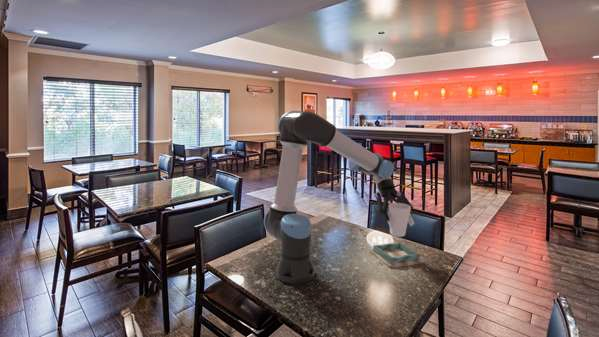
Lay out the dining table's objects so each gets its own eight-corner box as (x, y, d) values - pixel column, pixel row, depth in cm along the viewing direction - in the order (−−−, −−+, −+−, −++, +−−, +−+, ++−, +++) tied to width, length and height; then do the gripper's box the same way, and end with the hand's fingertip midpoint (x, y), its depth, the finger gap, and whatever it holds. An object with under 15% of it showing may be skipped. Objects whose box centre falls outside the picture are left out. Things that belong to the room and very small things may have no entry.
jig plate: (389, 268, 137) (390, 260, 136) (369, 251, 153) (369, 244, 152) (423, 262, 142) (424, 255, 141) (400, 247, 158) (400, 240, 157)
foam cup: (411, 238, 141) (413, 209, 139) (389, 237, 141) (391, 208, 139) (404, 230, 150) (406, 203, 148) (384, 230, 150) (386, 202, 148)
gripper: (400, 185, 160) (419, 227, 148) (360, 188, 154) (376, 232, 141) (408, 177, 155) (428, 219, 142) (366, 179, 148) (384, 224, 136)
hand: (402, 225), depth 142 cm, fingers closed on foam cup, 9 cm apart
